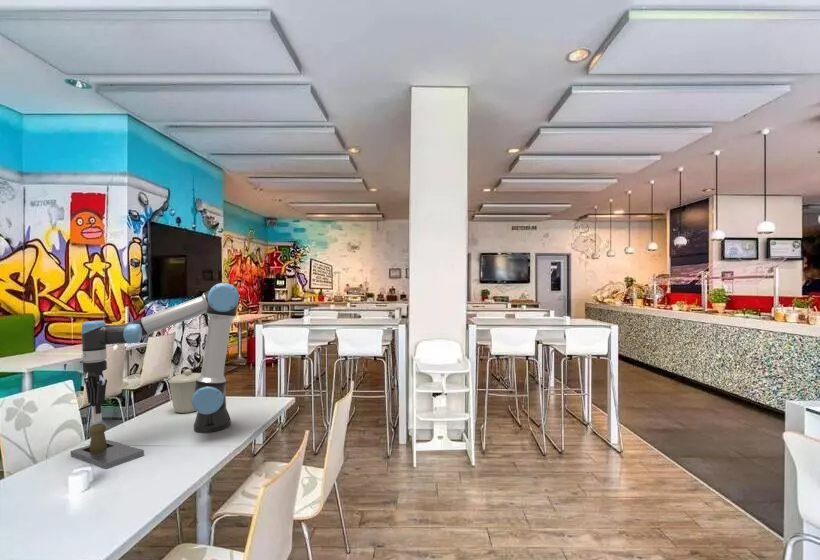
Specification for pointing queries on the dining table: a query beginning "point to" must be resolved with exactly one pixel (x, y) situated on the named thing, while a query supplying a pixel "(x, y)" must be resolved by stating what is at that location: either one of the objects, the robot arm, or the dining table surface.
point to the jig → (108, 454)
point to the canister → (183, 391)
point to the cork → (97, 438)
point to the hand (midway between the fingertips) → (96, 421)
